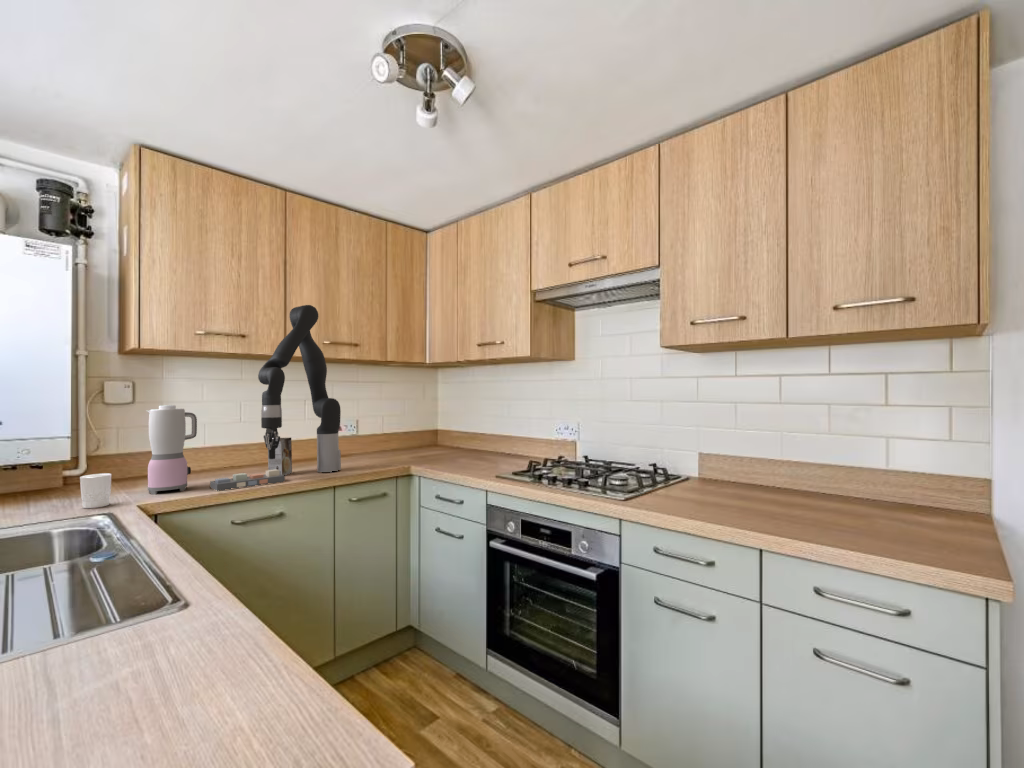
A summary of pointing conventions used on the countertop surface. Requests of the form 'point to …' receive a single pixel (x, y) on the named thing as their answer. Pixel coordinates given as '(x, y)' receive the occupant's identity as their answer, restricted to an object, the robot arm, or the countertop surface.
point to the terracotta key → (256, 476)
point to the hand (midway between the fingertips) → (271, 458)
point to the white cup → (95, 490)
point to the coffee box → (282, 457)
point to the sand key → (272, 472)
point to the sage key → (239, 476)
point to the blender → (168, 448)
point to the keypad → (246, 482)
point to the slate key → (222, 480)
